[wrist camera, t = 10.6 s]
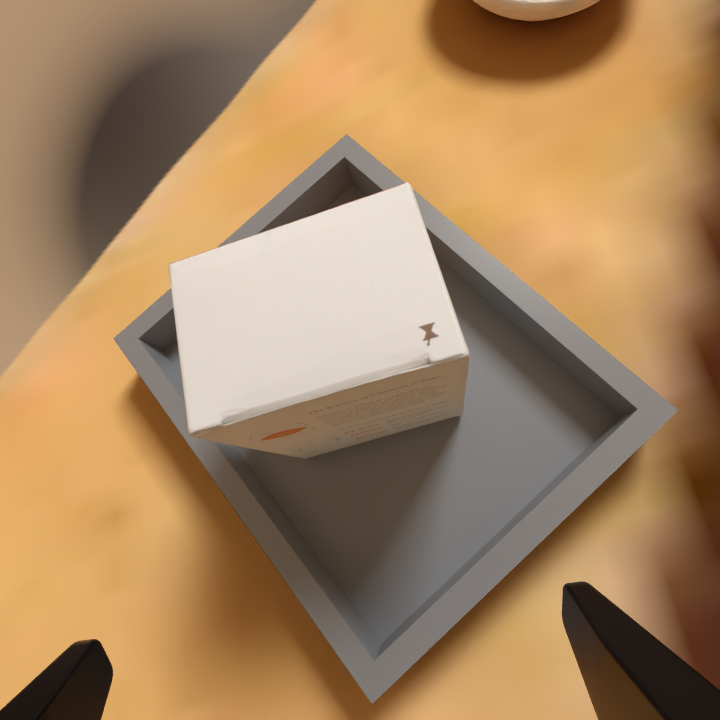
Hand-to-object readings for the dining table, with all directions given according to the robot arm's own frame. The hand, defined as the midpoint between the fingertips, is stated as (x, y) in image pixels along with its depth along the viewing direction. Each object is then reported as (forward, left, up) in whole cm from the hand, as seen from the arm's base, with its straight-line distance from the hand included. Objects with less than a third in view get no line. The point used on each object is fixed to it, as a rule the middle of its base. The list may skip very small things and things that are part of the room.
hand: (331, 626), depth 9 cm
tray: (+7, -4, -13) cm, 15 cm away
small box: (+7, -4, -12) cm, 15 cm away
